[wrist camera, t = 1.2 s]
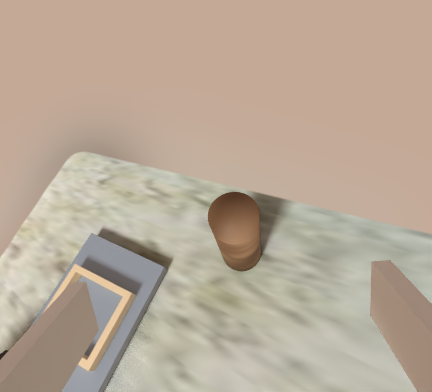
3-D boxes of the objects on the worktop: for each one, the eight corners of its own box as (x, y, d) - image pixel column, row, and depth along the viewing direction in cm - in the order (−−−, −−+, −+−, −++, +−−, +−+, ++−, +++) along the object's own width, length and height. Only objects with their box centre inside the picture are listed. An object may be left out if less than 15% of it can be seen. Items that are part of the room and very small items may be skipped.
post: (266, 242, 41) (267, 201, 30) (252, 277, 39) (247, 247, 28) (231, 228, 42) (220, 185, 32) (216, 261, 40) (199, 228, 30)
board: (167, 269, 41) (160, 263, 38) (89, 419, 34) (74, 424, 32) (96, 236, 44) (86, 229, 42) (13, 365, 38) (-6, 366, 35)
